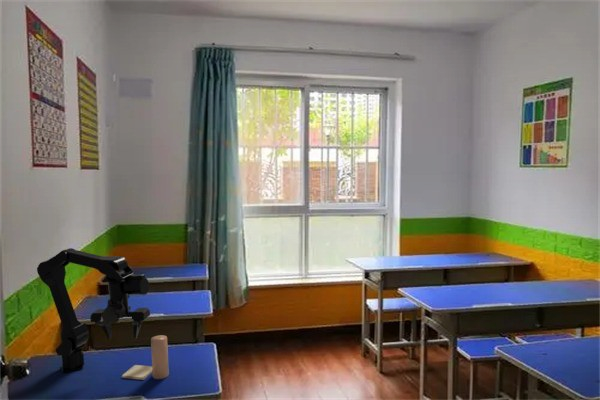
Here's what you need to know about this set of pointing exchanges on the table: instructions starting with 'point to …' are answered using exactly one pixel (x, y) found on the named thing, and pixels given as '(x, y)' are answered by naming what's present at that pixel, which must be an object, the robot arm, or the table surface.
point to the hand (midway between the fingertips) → (122, 339)
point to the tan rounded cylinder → (159, 357)
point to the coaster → (138, 372)
